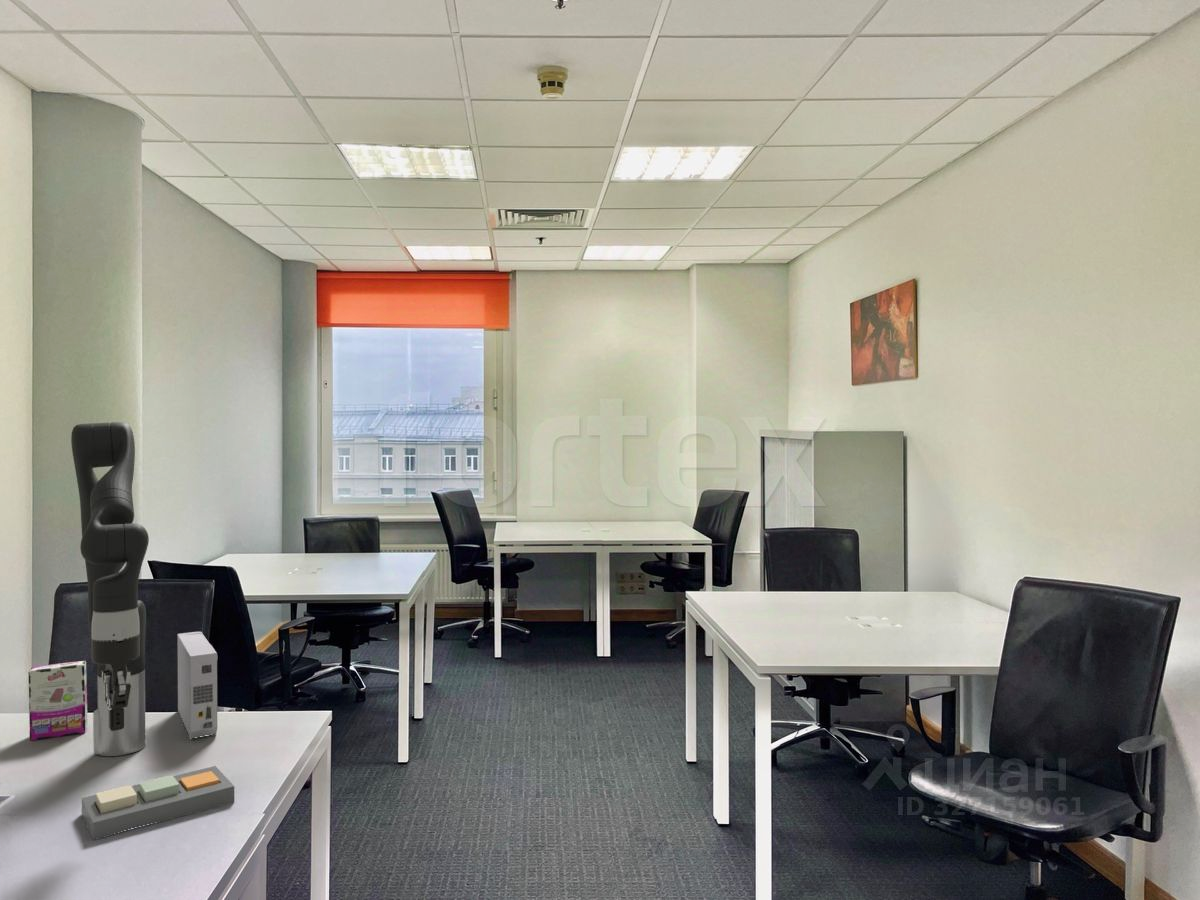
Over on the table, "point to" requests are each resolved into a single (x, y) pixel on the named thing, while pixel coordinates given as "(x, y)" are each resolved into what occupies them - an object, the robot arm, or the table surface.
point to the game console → (197, 684)
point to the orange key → (199, 781)
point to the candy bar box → (57, 700)
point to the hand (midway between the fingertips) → (116, 729)
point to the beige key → (116, 798)
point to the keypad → (157, 806)
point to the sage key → (158, 788)
